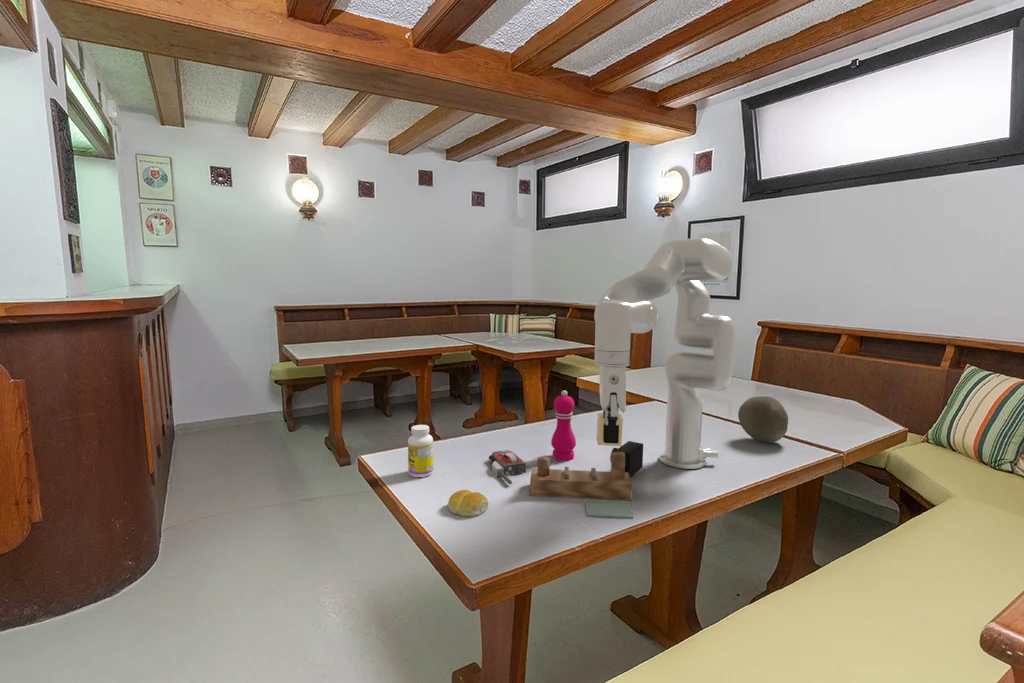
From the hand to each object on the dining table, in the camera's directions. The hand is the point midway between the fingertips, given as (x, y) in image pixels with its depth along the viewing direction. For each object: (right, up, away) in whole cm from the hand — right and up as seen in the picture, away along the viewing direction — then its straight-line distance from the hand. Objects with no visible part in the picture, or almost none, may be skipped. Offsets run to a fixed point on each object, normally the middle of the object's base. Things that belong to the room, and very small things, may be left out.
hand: (609, 438), depth 109 cm
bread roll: (-32, -17, +2) cm, 36 cm away
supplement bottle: (-46, -14, +23) cm, 53 cm away
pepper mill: (-7, -13, +36) cm, 38 cm away
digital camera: (+10, -14, +25) cm, 30 cm away
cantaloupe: (+59, -11, +50) cm, 78 cm away
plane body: (-5, -15, +11) cm, 20 cm away
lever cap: (0, -1, 0) cm, 1 cm away
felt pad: (0, -16, +2) cm, 17 cm away
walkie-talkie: (-23, -14, +25) cm, 36 cm away
